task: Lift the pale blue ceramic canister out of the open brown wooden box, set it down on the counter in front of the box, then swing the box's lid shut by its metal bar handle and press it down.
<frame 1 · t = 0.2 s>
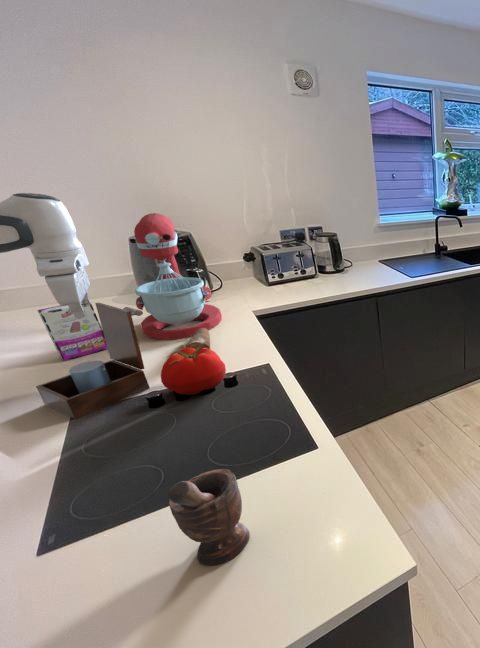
hand: (83, 311, 105), 22 cm above the worktop, tool pointing down, fingers open, 8 cm apart
mortar and pestle: (226, 554, 67), on the worktop
brown wooden box: (100, 398, 106), on the worktop
canister: (99, 396, 106), point 1 cm above the worktop, touching brown wooden box
bin lid: (130, 333, 110), point 15 cm above the worktop, hinge at 95.0°
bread: (200, 347, 135), on the worktop
candy bar box: (85, 353, 129), on the worktop
tomato: (199, 388, 112), on the worktop
stand mixer: (184, 324, 152), on the worktop
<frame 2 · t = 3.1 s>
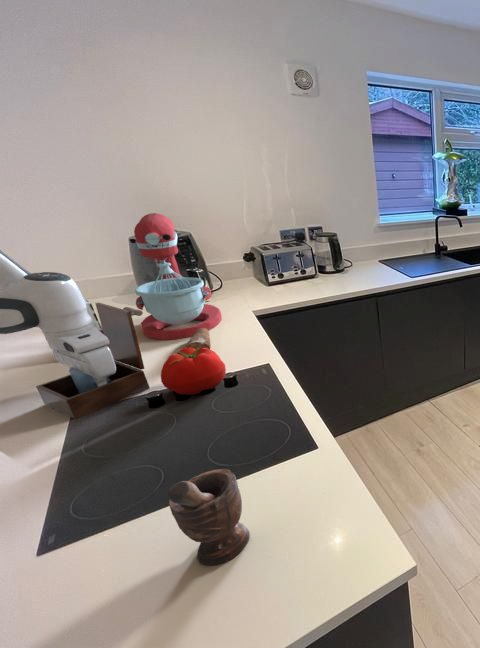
hand: (94, 383, 104), 5 cm above the worktop, tool pointing down, fingers closed on canister, 6 cm apart
canister: (99, 396, 106), point 1 cm above the worktop, touching brown wooden box, gripper
everything else where it was.
when the fingers open (4 cm above the worktop, at t = 11.0 s): canister stays where it is, on the worktop.
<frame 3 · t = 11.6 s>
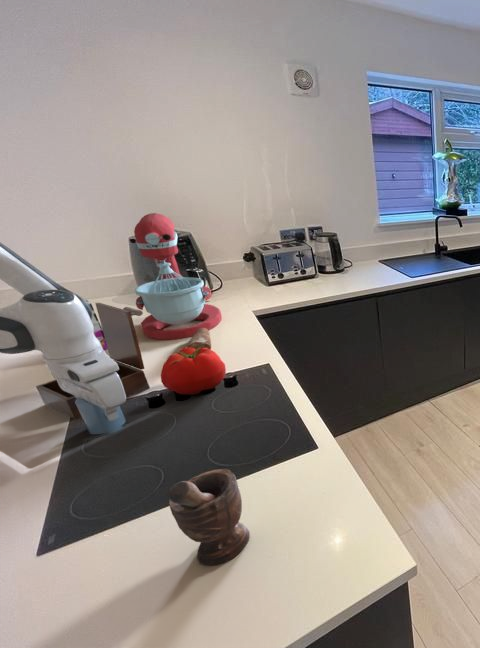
hand: (101, 413, 93), 4 cm above the worktop, tool pointing down, fingers open, 8 cm apart
canister: (108, 428, 95), on the worktop
everything else where it was.
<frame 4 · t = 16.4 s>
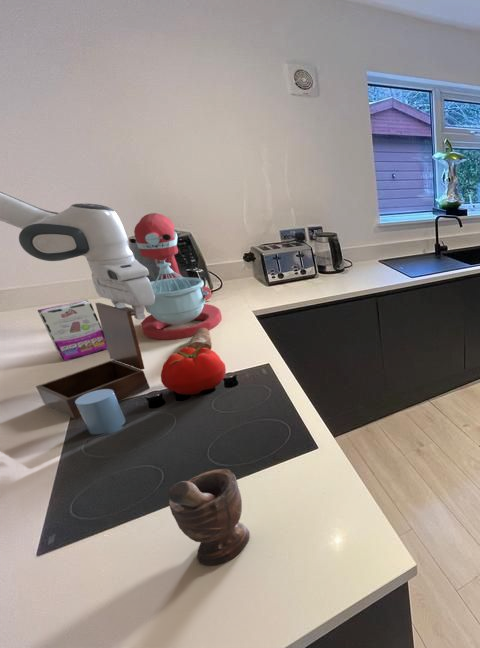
hand: (132, 316, 110), 19 cm above the worktop, tool pointing down, fingers closed on bin lid, 6 cm apart
bin lid: (130, 333, 110), point 15 cm above the worktop, hinge at 95.0°, touching gripper
everything else where it was.
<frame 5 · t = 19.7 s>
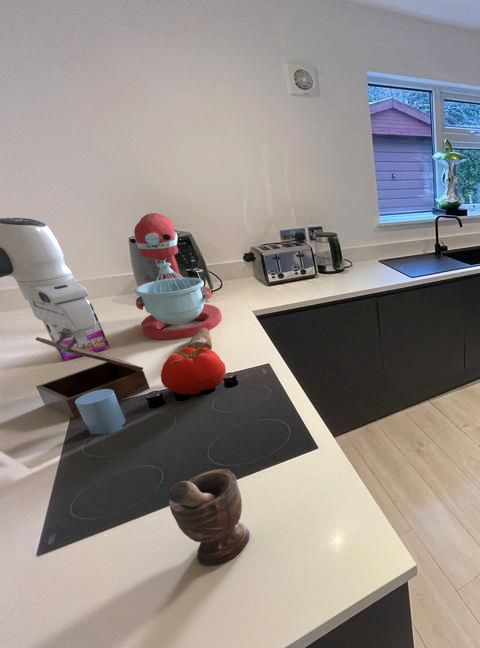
hand: (74, 340, 99), 17 cm above the worktop, tool pointing down, fingers closed on bin lid, 6 cm apart
bin lid: (97, 346, 104), point 14 cm above the worktop, hinge at 43.6°, touching gripper
everything else where it was.
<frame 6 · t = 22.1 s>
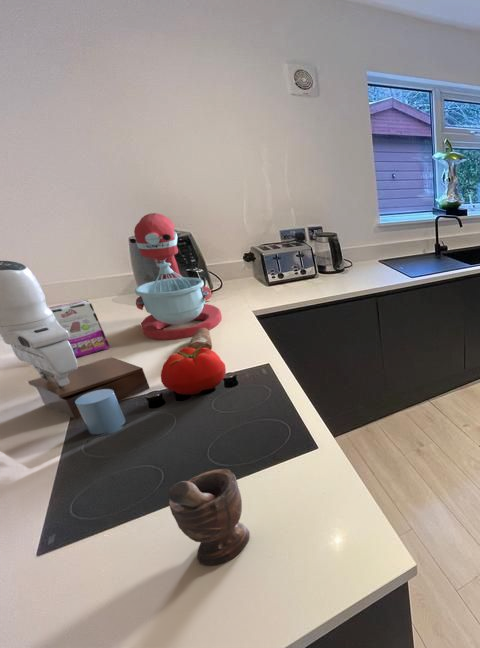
hand: (56, 381, 98), 9 cm above the worktop, tool pointing down, fingers closed on bin lid, 6 cm apart
bin lid: (85, 368, 102), point 9 cm above the worktop, hinge at 3.6°, touching gripper
everything else where it was.
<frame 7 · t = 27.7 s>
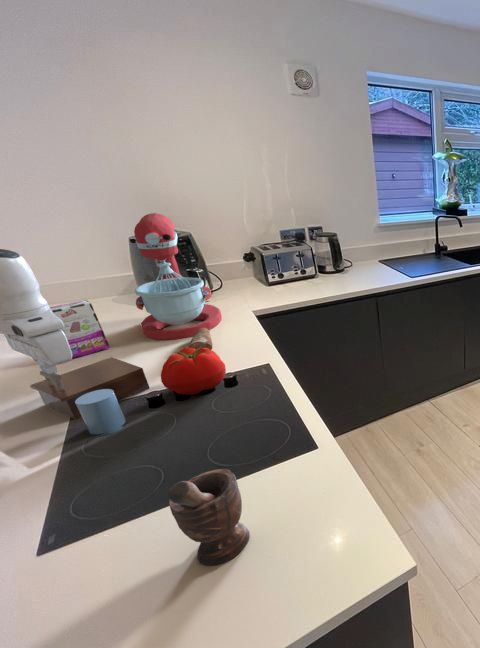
hand: (50, 372, 96), 11 cm above the worktop, tool pointing down, fingers closed, pressing on bin lid
bin lid: (85, 370, 102), point 9 cm above the worktop, hinge at -0.2°, touching brown wooden box, gripper
everything else where it was.
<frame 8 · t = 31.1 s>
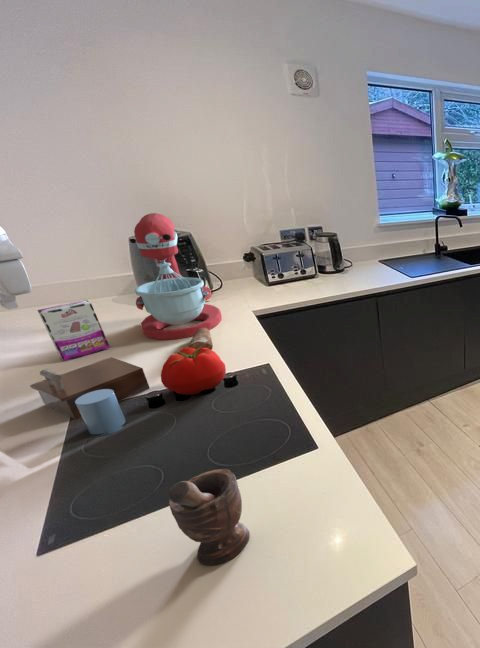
hand: (10, 307, 93), 27 cm above the worktop, tool pointing down, fingers closed
bin lid: (85, 370, 102), point 9 cm above the worktop, hinge at -0.2°, touching brown wooden box
everything else where it was.
at the end: canister inside the target area (0.1 cm from its centre), on the worktop; canister tilted 0°; bin lid at +0° (first picture: +95°) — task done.
